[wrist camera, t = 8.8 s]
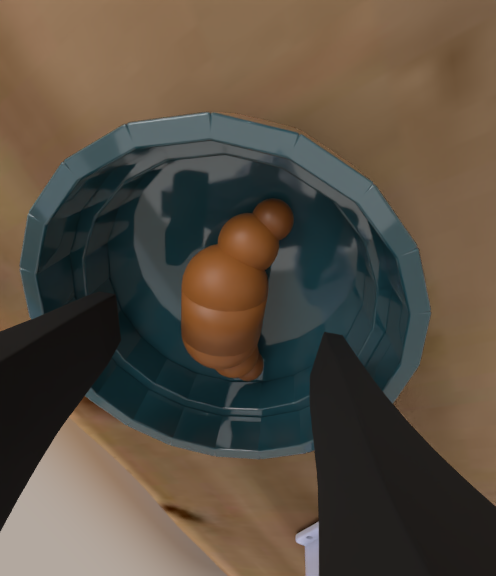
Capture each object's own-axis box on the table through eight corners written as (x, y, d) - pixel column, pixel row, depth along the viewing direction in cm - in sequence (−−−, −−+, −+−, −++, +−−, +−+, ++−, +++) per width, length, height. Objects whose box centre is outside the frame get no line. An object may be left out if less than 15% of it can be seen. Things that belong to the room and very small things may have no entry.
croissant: (192, 354, 15) (169, 406, 13) (198, 181, 11) (167, 203, 8) (262, 367, 15) (256, 423, 12) (297, 197, 11) (298, 225, 8)
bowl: (277, 420, 18) (274, 493, 14) (65, 314, 16) (1, 370, 12) (467, 242, 11) (543, 297, 8) (148, 26, 9) (64, -26, 6)
